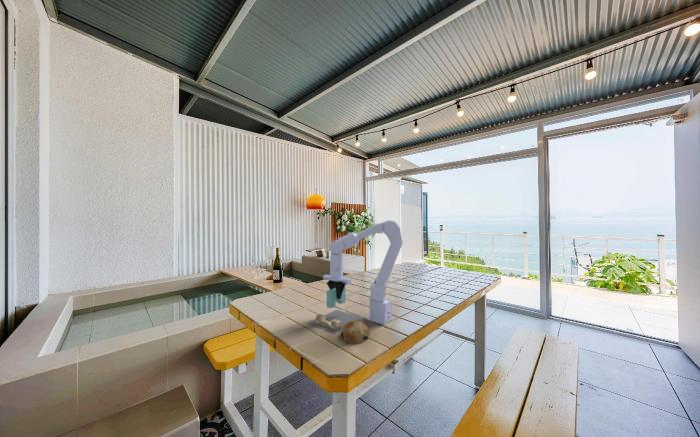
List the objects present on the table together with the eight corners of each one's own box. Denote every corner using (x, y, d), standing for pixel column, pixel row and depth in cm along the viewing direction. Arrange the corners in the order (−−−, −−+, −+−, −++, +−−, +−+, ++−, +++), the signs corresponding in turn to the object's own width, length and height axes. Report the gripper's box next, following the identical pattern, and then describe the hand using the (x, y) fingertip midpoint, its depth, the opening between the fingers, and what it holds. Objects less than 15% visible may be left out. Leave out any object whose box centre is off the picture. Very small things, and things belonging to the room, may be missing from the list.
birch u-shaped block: (341, 328, 97) (341, 321, 97) (337, 330, 95) (337, 322, 96) (319, 321, 104) (319, 314, 104) (316, 322, 103) (316, 315, 103)
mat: (364, 318, 108) (364, 317, 108) (334, 335, 92) (334, 334, 92) (336, 310, 118) (336, 309, 118) (305, 324, 102) (305, 323, 102)
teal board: (345, 302, 112) (345, 286, 112) (330, 308, 104) (330, 291, 104) (341, 301, 113) (341, 286, 113) (326, 307, 105) (326, 290, 105)
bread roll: (355, 356, 84) (364, 338, 83) (333, 337, 89) (341, 319, 88) (368, 344, 93) (376, 327, 91) (348, 327, 98) (355, 311, 96)
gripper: (318, 266, 110) (318, 297, 110) (343, 270, 101) (343, 303, 101) (329, 264, 116) (329, 293, 115) (353, 268, 107) (353, 299, 107)
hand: (336, 297), depth 109 cm, fingers closed on teal board, 2 cm apart
